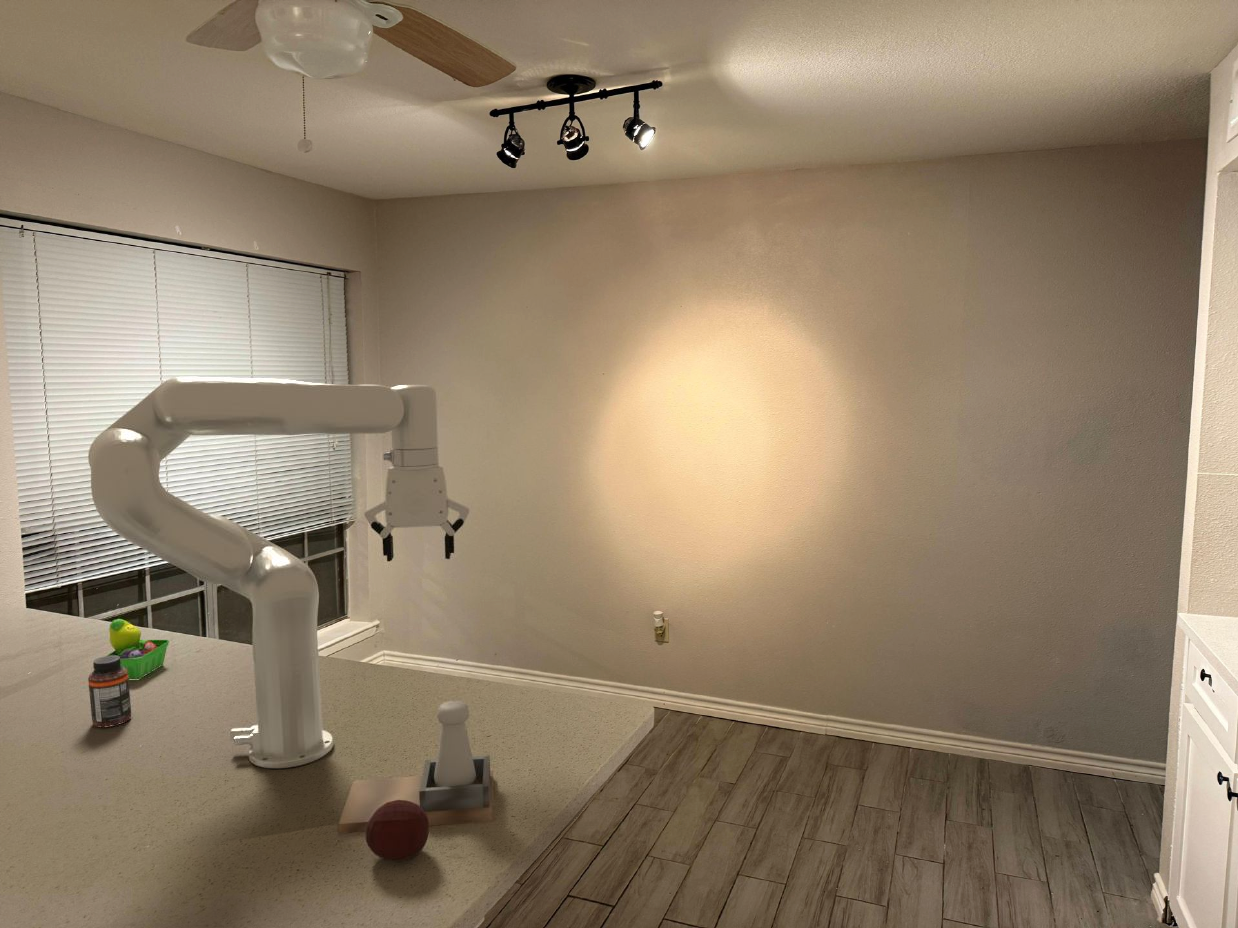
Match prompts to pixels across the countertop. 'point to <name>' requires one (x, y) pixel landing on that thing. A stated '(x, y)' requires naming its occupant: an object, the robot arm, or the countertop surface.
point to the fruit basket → (135, 649)
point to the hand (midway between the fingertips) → (419, 558)
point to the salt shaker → (454, 747)
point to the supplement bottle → (109, 692)
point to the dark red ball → (397, 830)
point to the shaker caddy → (422, 797)
